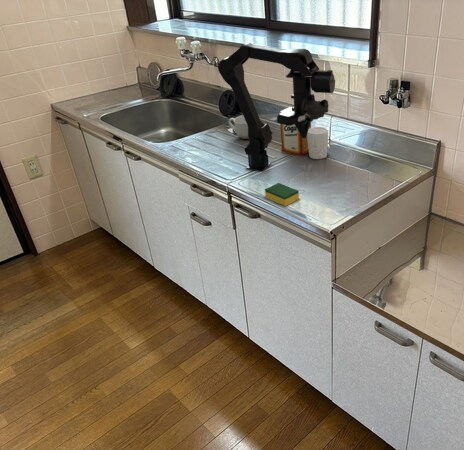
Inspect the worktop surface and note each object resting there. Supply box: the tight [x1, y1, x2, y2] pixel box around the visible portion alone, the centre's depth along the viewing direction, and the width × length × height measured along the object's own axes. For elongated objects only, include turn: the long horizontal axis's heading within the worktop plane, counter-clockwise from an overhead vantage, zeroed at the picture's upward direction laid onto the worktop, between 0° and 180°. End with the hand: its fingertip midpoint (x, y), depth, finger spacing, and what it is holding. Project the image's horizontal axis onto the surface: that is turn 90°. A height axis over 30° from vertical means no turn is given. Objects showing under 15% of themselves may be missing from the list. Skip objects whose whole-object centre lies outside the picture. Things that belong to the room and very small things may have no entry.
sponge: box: [264, 182, 300, 207], centre depth 148 cm, size 9×6×3 cm, turn 44°
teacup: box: [227, 114, 261, 140], centre depth 198 cm, size 14×11×8 cm
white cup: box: [307, 126, 329, 160], centre depth 174 cm, size 8×8×10 cm
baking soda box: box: [279, 106, 312, 157], centre depth 179 cm, size 10×6×16 cm
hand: (304, 138), depth 159 cm, fingers closed
